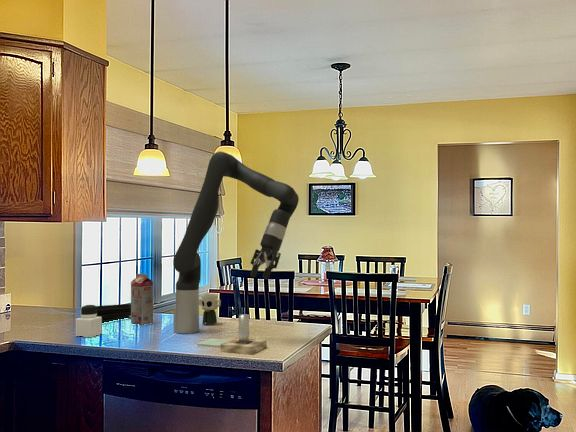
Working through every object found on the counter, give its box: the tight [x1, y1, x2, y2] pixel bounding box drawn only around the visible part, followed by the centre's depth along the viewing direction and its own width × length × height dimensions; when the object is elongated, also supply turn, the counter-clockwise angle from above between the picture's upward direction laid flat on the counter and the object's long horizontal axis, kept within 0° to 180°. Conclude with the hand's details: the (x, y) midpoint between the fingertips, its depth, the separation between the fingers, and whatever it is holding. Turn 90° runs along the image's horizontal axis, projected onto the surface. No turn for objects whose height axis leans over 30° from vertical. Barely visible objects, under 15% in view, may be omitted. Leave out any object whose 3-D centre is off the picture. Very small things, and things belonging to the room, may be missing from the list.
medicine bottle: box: [75, 304, 103, 338], centre depth 228 cm, size 7×7×12 cm
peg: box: [238, 313, 250, 344], centre depth 202 cm, size 4×4×12 cm
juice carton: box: [130, 273, 154, 325], centre depth 253 cm, size 7×7×22 cm
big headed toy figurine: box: [199, 293, 222, 325], centre depth 252 cm, size 11×7×13 cm, turn 66°
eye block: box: [220, 337, 268, 355], centre depth 202 cm, size 12×12×2 cm
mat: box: [196, 338, 231, 348], centre depth 212 cm, size 10×10×1 cm
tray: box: [96, 303, 131, 323], centre depth 268 cm, size 30×23×5 cm
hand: (258, 277), depth 213 cm, fingers open, 8 cm apart
